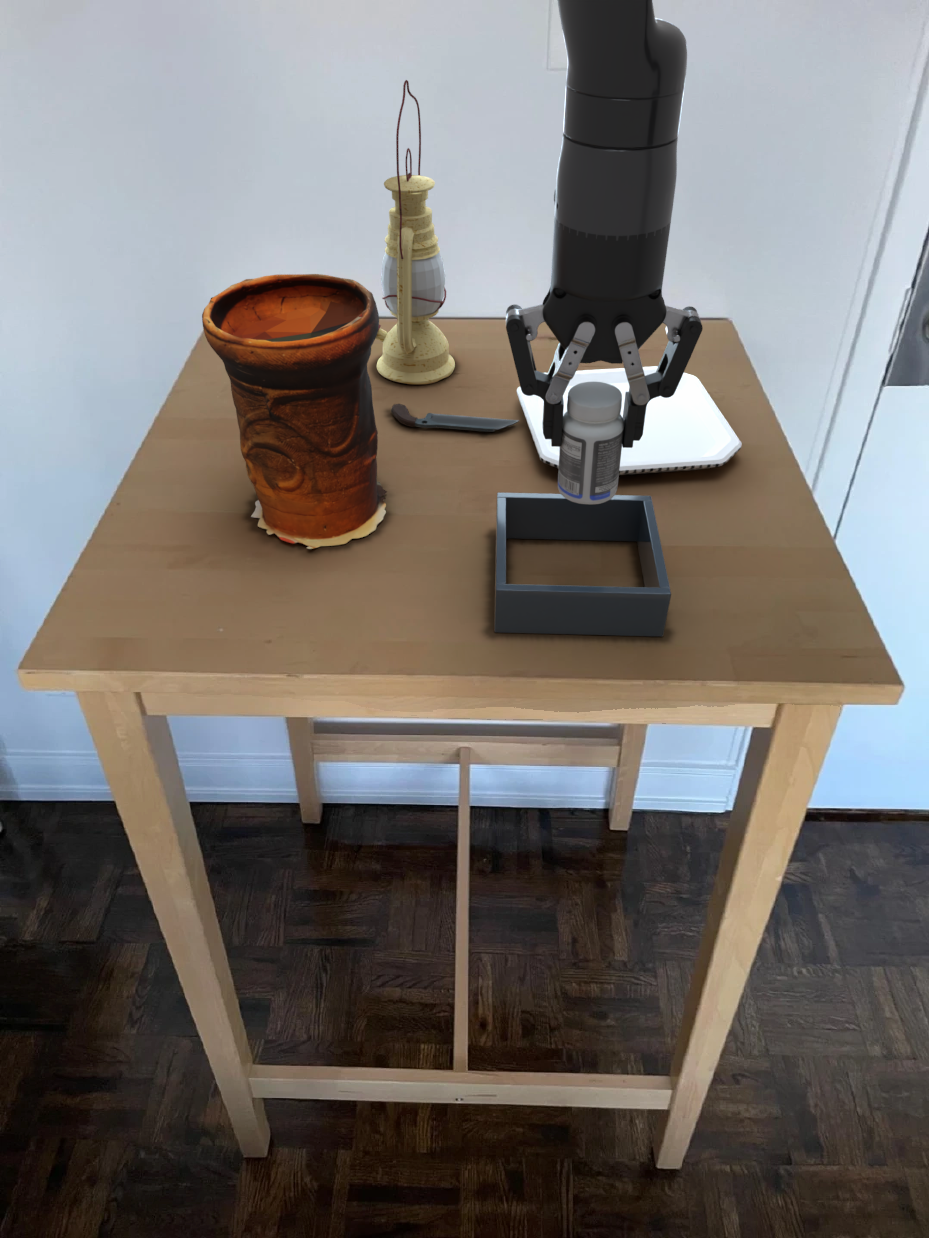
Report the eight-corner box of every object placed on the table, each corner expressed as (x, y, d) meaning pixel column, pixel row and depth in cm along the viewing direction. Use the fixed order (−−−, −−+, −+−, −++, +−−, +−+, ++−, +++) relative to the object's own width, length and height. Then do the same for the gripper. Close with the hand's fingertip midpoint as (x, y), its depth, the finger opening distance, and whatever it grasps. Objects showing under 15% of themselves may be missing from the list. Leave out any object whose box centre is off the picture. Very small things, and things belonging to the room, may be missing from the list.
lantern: (384, 341, 116) (368, 64, 97) (462, 347, 115) (463, 68, 95) (360, 387, 107) (338, 92, 88) (445, 394, 106) (442, 96, 86)
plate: (545, 492, 91) (546, 473, 90) (510, 391, 107) (511, 373, 105) (750, 478, 93) (754, 458, 92) (686, 381, 109) (690, 363, 107)
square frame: (644, 536, 86) (651, 495, 83) (663, 637, 76) (671, 594, 73) (495, 533, 86) (497, 492, 83) (494, 632, 76) (495, 589, 73)
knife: (385, 426, 101) (385, 420, 100) (393, 408, 104) (393, 402, 103) (516, 436, 99) (516, 430, 99) (520, 418, 102) (520, 412, 101)
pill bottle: (616, 475, 76) (627, 379, 71) (617, 508, 73) (629, 410, 67) (557, 472, 77) (563, 377, 71) (556, 504, 73) (562, 407, 68)
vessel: (207, 530, 87) (161, 321, 73) (290, 455, 96) (263, 259, 83) (344, 570, 82) (321, 355, 69) (416, 487, 92) (409, 285, 79)
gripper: (501, 230, 58) (497, 467, 69) (735, 231, 58) (692, 470, 69) (502, 192, 64) (498, 416, 75) (715, 193, 63) (678, 419, 75)
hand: (591, 441), depth 72 cm, fingers closed on pill bottle, 4 cm apart
